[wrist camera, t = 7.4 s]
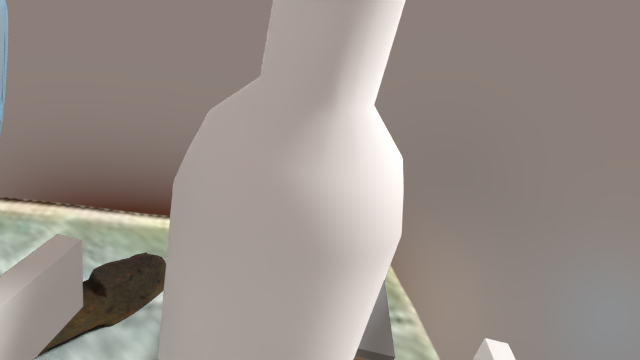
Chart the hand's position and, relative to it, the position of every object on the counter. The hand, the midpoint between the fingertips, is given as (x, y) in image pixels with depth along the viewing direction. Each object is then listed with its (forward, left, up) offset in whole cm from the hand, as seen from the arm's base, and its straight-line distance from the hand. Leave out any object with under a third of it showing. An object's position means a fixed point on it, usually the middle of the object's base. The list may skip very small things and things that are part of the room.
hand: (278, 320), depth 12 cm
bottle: (-1, +2, -16) cm, 16 cm away
